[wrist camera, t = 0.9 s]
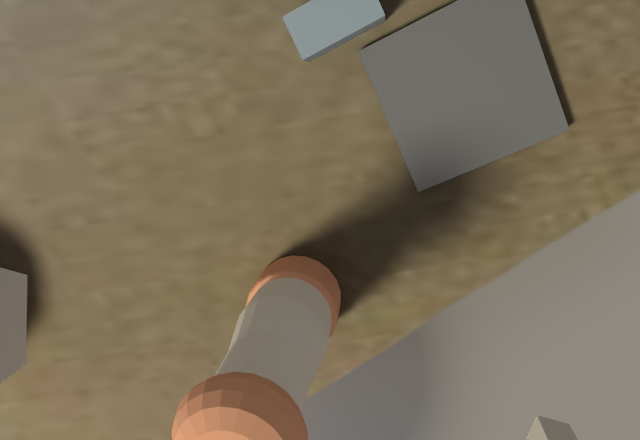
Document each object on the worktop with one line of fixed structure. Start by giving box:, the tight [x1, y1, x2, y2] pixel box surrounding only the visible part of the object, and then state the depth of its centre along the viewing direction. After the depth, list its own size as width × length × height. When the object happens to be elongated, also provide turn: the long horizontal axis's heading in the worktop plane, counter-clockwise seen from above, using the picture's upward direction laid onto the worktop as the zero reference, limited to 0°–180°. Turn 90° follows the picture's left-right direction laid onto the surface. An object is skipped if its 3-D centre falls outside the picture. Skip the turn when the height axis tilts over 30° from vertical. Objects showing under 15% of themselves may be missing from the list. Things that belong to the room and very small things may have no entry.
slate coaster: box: [358, 0, 569, 192], centre depth 32 cm, size 11×11×1 cm
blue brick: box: [283, 0, 385, 62], centre depth 31 cm, size 6×3×3 cm, turn 116°
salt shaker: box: [172, 255, 341, 440], centre depth 30 cm, size 7×7×19 cm
